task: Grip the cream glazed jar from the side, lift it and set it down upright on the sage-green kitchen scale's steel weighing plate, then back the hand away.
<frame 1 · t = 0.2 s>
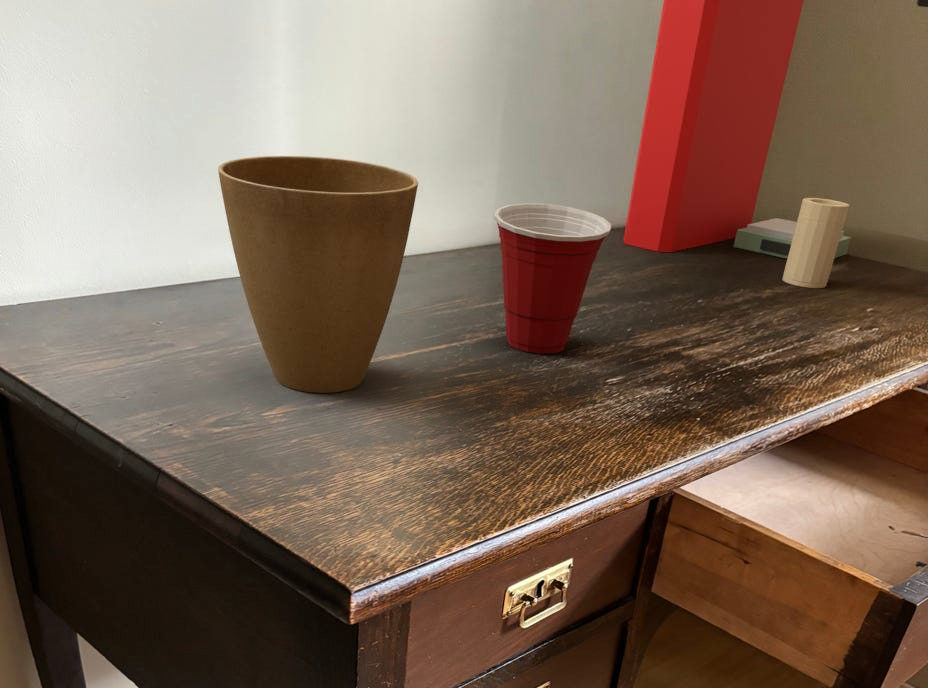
scale: (790, 250, 147), on the table
plant pot: (317, 381, 81), on the table
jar: (804, 282, 129), on the table
plastic cup: (536, 347, 95), on the table
book: (686, 239, 149), on the table
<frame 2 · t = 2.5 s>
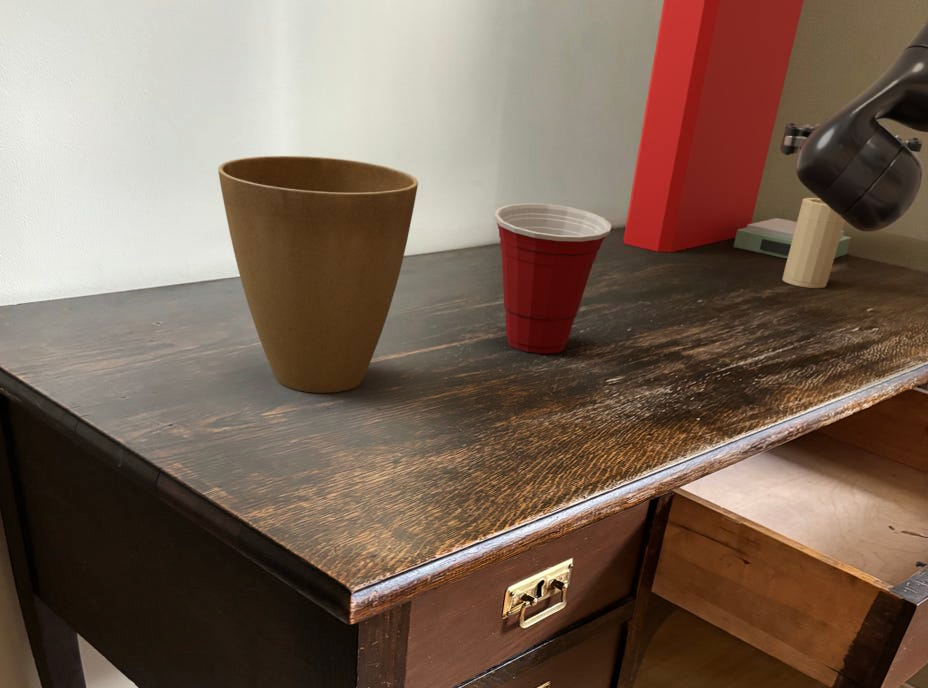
hand: (847, 140, 110), 18 cm above the table, tool horizontal, fingers open, 8 cm apart
nothing on the table moved.
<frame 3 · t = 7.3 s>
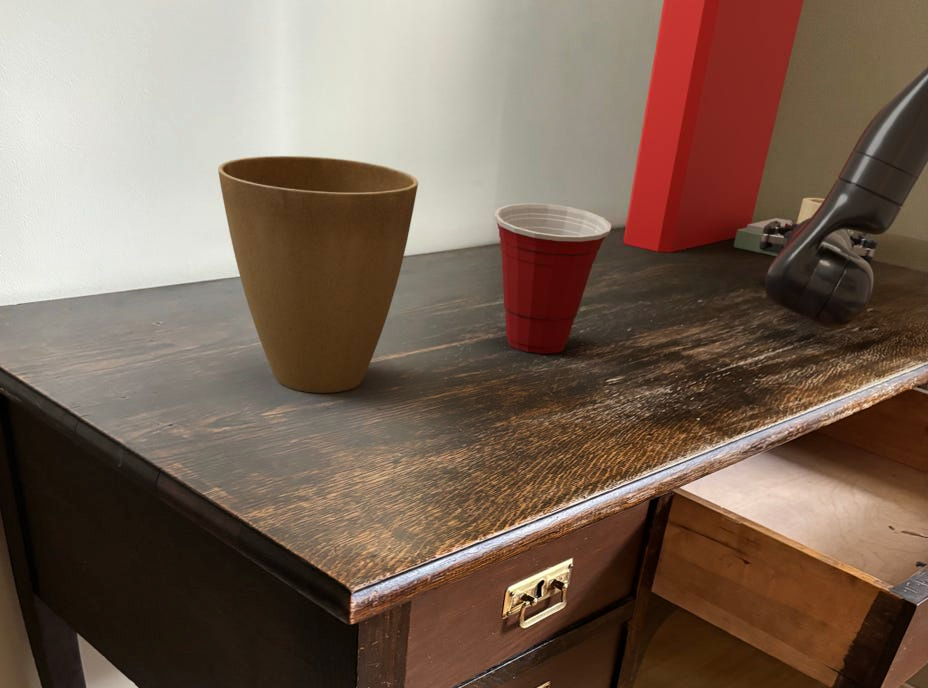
hand: (816, 232, 128), 6 cm above the table, tool horizontal, fingers closed on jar, 5 cm apart
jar: (804, 282, 129), on the table, touching gripper
everything else where it was.
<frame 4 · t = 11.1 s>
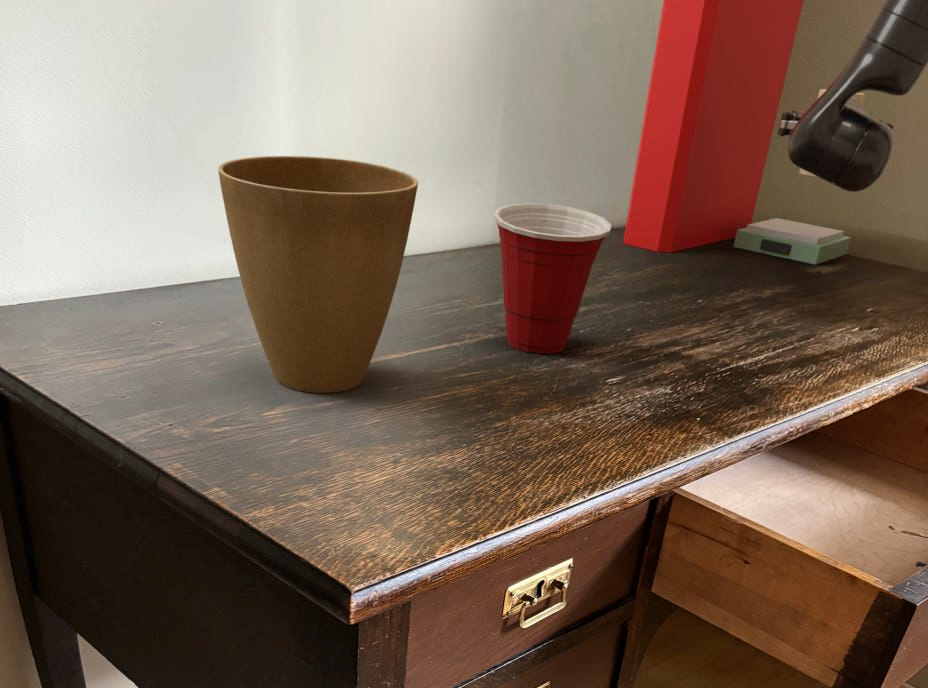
hand: (832, 124, 131), 18 cm above the table, tool horizontal, fingers closed on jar, 5 cm apart
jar: (820, 175, 132), point 12 cm above the table, touching gripper
everything else where it was.
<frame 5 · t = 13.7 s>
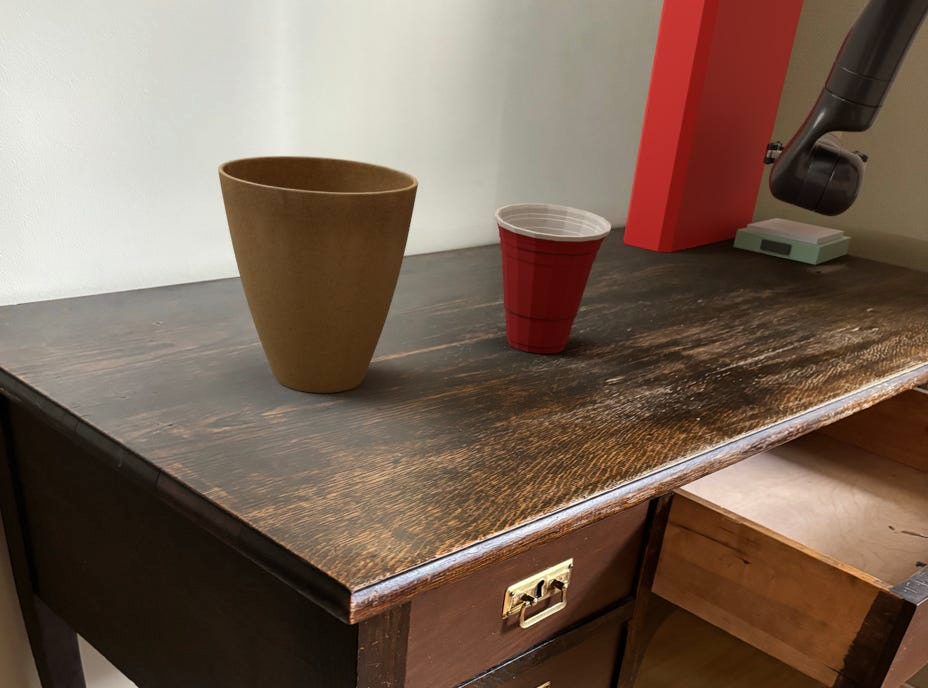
hand: (814, 153, 142), 13 cm above the table, tool horizontal, fingers closed on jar, 5 cm apart
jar: (802, 199, 143), point 7 cm above the table, touching gripper
everything else where it was.
when the fingers open (9 cm above the table, at t = 15.4 s): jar stays where it is, resting on scale.
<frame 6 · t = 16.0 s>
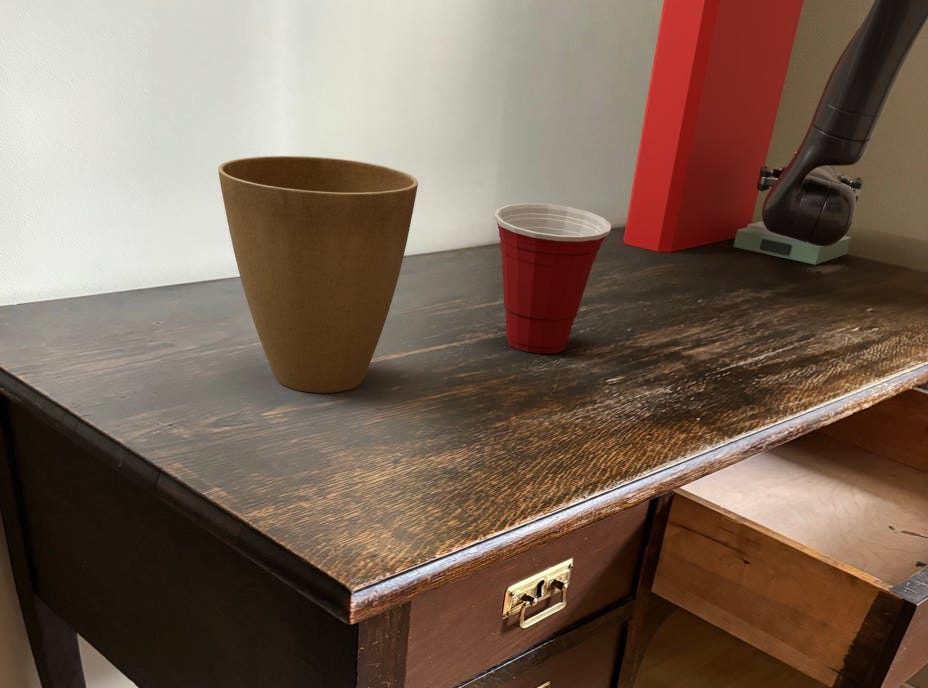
hand: (809, 178, 144), 10 cm above the table, tool horizontal, fingers open, 8 cm apart
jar: (795, 227, 146), point 3 cm above the table, touching scale
everything else where it was.
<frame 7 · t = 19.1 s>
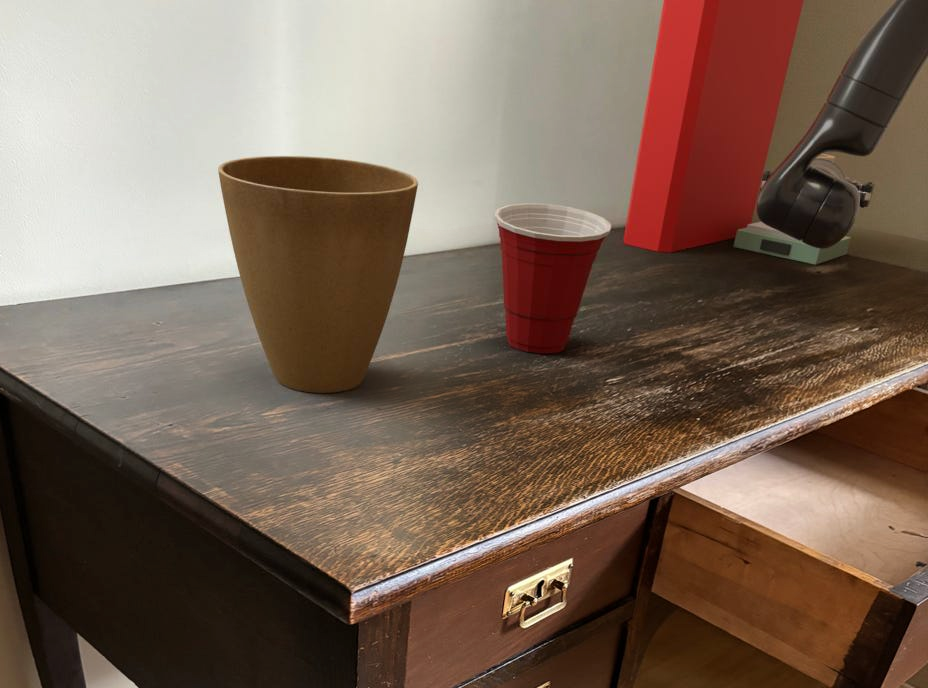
hand: (817, 185, 133), 11 cm above the table, tool horizontal, fingers open, 8 cm apart
nothing on the table moved.
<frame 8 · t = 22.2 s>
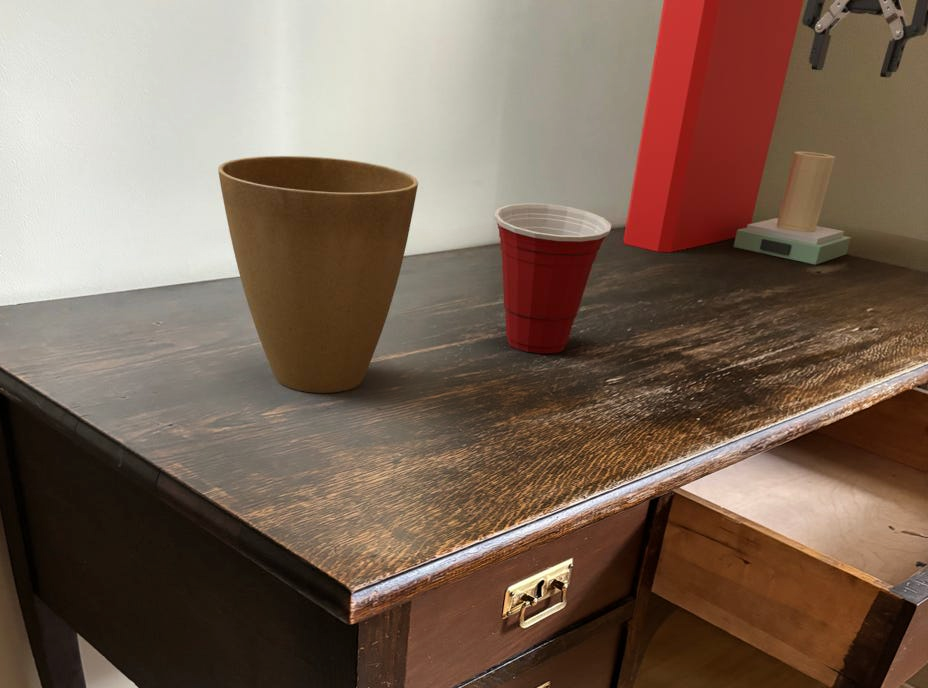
hand: (850, 73, 118), 24 cm above the table, tool pointing down, fingers open, 8 cm apart
nothing on the table moved.
at the end: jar inside the target area on the scale (0.1 cm from its centre), point 3.3 cm above the scale's base; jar tilted 0°; the gripper is holding nothing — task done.
